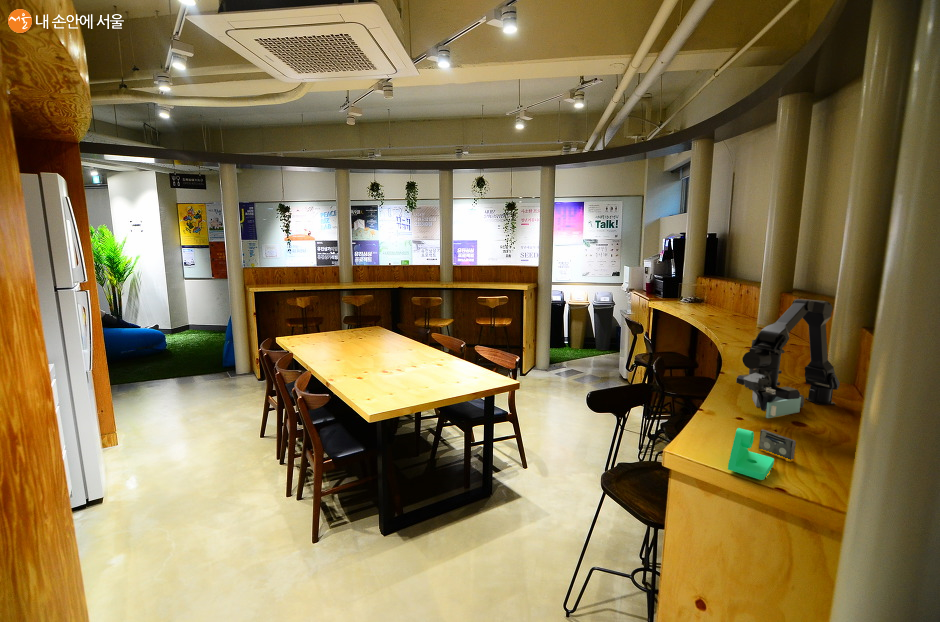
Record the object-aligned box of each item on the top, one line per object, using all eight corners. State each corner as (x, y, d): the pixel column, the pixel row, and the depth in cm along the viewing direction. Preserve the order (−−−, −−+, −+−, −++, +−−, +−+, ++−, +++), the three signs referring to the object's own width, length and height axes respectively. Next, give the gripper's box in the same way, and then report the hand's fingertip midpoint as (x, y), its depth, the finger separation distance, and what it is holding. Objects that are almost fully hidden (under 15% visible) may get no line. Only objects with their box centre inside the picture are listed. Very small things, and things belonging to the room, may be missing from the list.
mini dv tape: (793, 461, 117) (795, 440, 116) (790, 462, 116) (792, 441, 116) (761, 449, 124) (763, 428, 124) (758, 450, 124) (760, 429, 123)
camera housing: (798, 404, 161) (799, 389, 160) (805, 413, 152) (806, 398, 151) (752, 398, 167) (753, 384, 167) (756, 406, 158) (757, 392, 158)
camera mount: (762, 484, 105) (766, 444, 104) (727, 473, 111) (730, 434, 109) (774, 467, 114) (778, 430, 112) (740, 458, 119) (744, 422, 118)
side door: (797, 411, 153) (798, 397, 152) (802, 413, 151) (804, 398, 151) (765, 417, 147) (767, 402, 146) (771, 419, 145) (772, 404, 145)
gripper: (726, 360, 154) (721, 403, 156) (778, 375, 136) (772, 423, 138) (750, 359, 157) (745, 400, 159) (804, 373, 140) (797, 420, 142)
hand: (763, 410), depth 150 cm, fingers closed
